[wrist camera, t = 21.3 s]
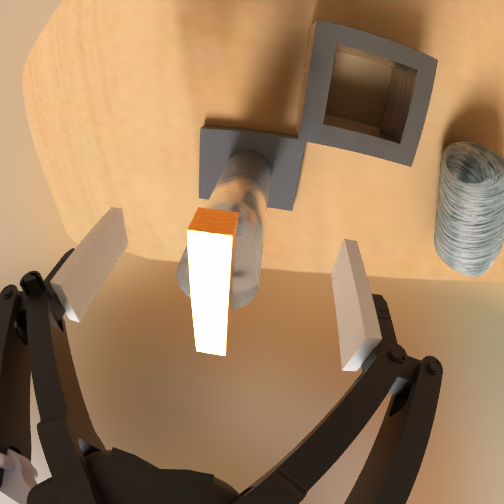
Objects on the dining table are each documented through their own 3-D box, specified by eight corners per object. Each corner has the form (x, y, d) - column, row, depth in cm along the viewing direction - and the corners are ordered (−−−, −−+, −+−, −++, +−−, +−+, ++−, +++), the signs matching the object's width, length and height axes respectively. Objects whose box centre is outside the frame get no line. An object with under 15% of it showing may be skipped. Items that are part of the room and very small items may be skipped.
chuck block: (309, 28, 16) (316, 19, 13) (410, 58, 16) (437, 60, 12) (295, 125, 22) (298, 140, 18) (390, 147, 22) (411, 167, 18)
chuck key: (224, 206, 27) (175, 346, 15) (229, 126, 22) (155, 225, 10) (265, 212, 27) (247, 359, 15) (276, 131, 22) (267, 240, 10)
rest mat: (203, 125, 23) (200, 128, 22) (305, 137, 23) (305, 140, 22) (201, 193, 27) (199, 198, 27) (292, 205, 27) (292, 210, 26)
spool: (425, 132, 18) (521, 209, 11) (473, 119, 19) (546, 177, 13) (396, 241, 28) (453, 308, 22) (443, 212, 29) (494, 266, 23)
